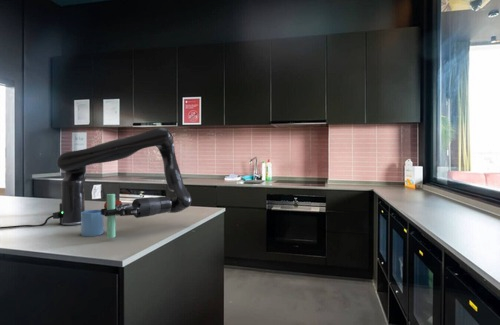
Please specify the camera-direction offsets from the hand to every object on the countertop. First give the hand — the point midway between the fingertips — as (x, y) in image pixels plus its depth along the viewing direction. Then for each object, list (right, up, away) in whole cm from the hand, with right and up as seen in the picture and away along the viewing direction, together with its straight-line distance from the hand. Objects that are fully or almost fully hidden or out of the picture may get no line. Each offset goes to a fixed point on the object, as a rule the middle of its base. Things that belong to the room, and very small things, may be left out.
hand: (103, 212), depth 113 cm
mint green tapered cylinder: (+2, -9, +2) cm, 10 cm away
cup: (-10, -10, +12) cm, 19 cm away
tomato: (-20, -9, +54) cm, 59 cm away
